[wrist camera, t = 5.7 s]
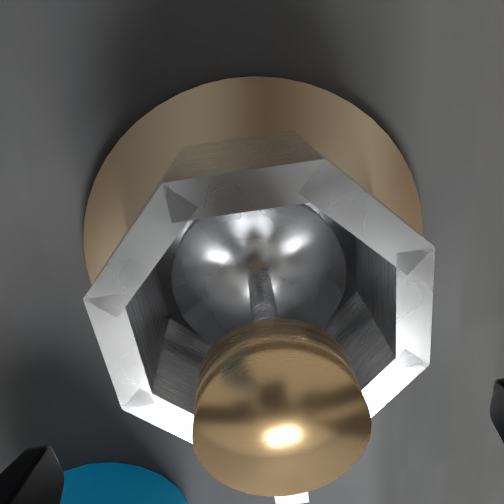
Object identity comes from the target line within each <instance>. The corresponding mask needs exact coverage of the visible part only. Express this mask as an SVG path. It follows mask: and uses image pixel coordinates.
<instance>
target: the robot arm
mask: <svg viewBox="0 0 504 504" xmlns="http://www.w3.org/2000/svg"><path fill="white" fill-rule="evenodd" d="M490 416H491V419H492V422H493V424H494V426H495V428H496V429H497V431H498V433H499V435H500V437H501V439H502V441H503V443H504V378H502V379H497V380H495V382H494V383H493V388H492V396H491V403H490ZM63 488H64V473H63V470H62V468H61V466H60V463H59V461H58V459H57V457H56V455H55V453H54V451H53V449H52V448H51V447H50V446H47V445H44V446H38V447H31V448H28V449H27V450H25V451H24V452H23V453H22V454H21V455H20V456H19V457H18V458H17V459H16V460H15V461H13V462H12V463H11V464H10V465H9V466H8V467H7V468H6V469H5V470H4V471H3V472H2V473H1V474H0V504H60V502H61V497H62V492H63Z"/></svg>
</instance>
